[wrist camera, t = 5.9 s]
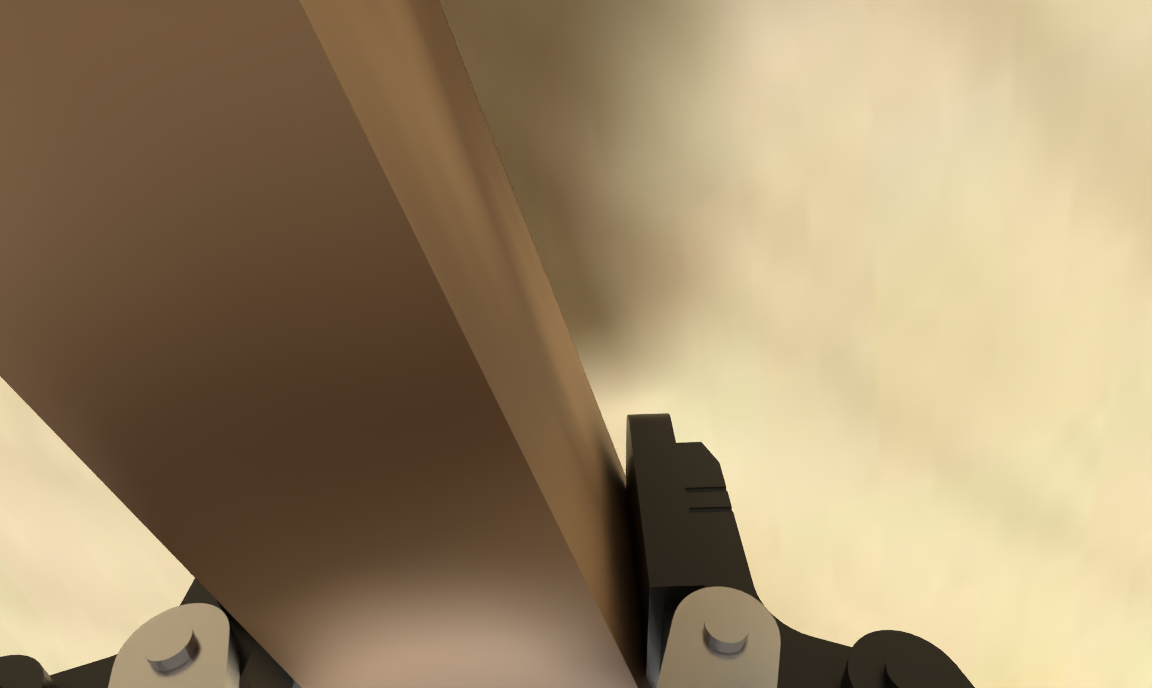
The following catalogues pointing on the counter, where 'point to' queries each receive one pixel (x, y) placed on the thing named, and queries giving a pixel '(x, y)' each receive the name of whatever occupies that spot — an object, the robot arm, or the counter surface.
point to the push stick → (311, 336)
